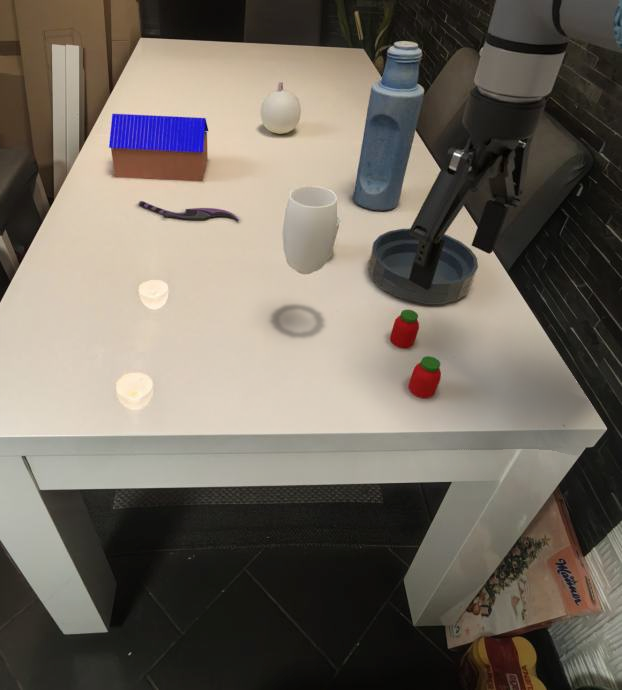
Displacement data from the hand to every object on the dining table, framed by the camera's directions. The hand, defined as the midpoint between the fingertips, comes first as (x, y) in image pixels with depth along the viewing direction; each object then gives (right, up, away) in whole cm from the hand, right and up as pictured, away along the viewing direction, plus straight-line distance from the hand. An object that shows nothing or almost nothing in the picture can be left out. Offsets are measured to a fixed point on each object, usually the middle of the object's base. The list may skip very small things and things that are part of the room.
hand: (451, 265), depth 70 cm
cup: (-18, -7, +14) cm, 24 cm away
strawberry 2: (-3, -16, +4) cm, 17 cm away
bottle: (+1, +20, +45) cm, 50 cm away
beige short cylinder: (-14, +6, +29) cm, 33 cm away
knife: (-38, +16, +39) cm, 57 cm away
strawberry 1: (-3, -10, +11) cm, 15 cm away
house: (-46, +30, +54) cm, 77 cm away
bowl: (+3, +2, +24) cm, 25 cm away
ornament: (-18, +46, +73) cm, 88 cm away
